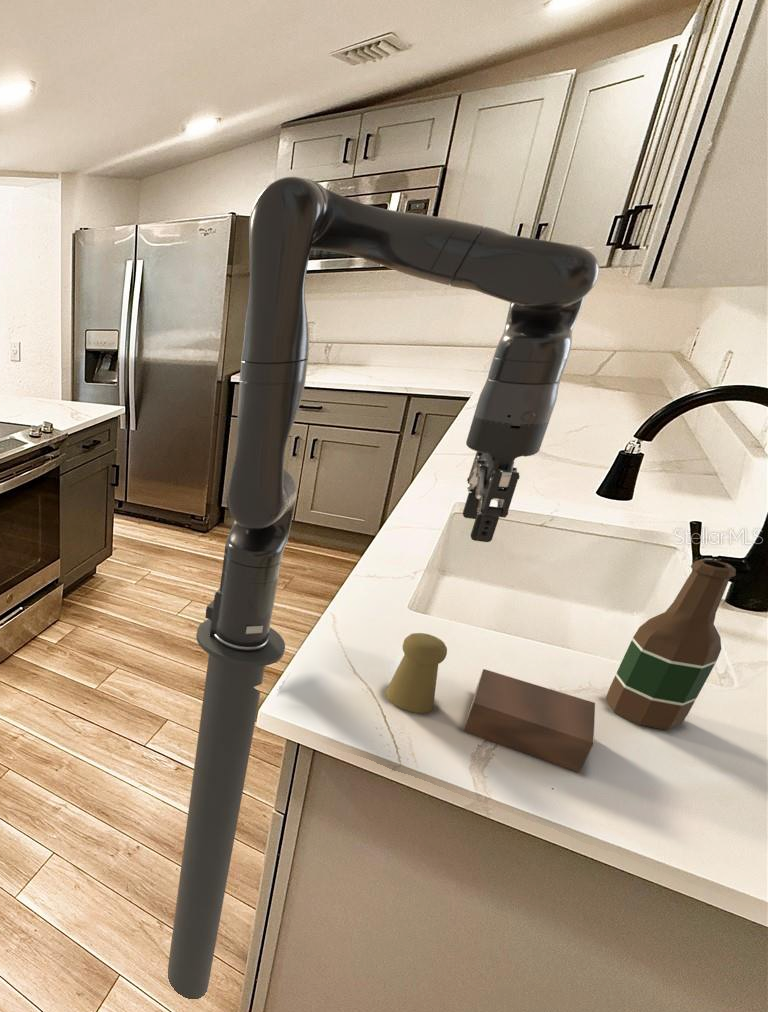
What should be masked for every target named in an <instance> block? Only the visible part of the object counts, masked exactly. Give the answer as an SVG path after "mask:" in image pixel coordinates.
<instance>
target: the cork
mask: <svg viewBox="0 0 768 1012" xmlns="http://www.w3.org/2000/svg"><path fill="white" fill-rule="evenodd" d="M402 651H403V653H404V655H403V656H402V658H401V660H400V663H399V665H398V666H397V669H396V671H395V672H394V675H393V676H392V678H391V681H390V682H389V684H388V686H387V689H386V690H385V693H384V694H385V697H386V699H387V700H388V701H389V702H390V703H391V704H393V705H394V706H395V707H398V708H399V709H401V710H405V711H407V712H409V713H410V712H411V713H416V714H426V713H429V712H431V711H432V710H433V709H434V706H435V705H434V704H435V697H436V687H437V680H438V672H439V665H440V664H441V663H442V662H444V661H445V659H446V657H447V655H448V653H447V652H448V648H447V645H446V643H445V642H444V641H443V640H442V639H440V638H438V637H437V636H435V635H432V634H428V633H423V632H415V633H411V634H409V635H408V636H406V637H405V638H404V639H403V643H402Z"/></svg>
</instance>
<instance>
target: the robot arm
mask: <svg viewBox="0 0 768 1012" xmlns="http://www.w3.org/2000/svg"><path fill="white" fill-rule="evenodd" d="M248 233H249V234H248V242H249V243H248V246H249V291H248V293H249V294H248V301H247V302H248V303H247V308H246V316H245V323H244V324H245V325H244V334H243V344H242V351H241V359H240V371H239V388H238V404H237V405H238V406H237V418H236V419H237V420H236V421H237V422H236V444H235V451H234V458H233V463H232V468H231V473H230V478H229V483H228V487H227V492H226V507H227V510H228V513H229V515H230V517H231V518H232V519H233V522H232V525H231V527H230V528H231V529H230V531H229V533H228V535H227V538H226V540H225V545H224V546H225V547H224V553H223V560H222V569H221V576H220V584H219V589H217V590H216V591H215V592H214V598H213V599H212V601H211V602H210V603H208V604H207V605H206V609H205V617H204V618H205V619H206V620H208V619H210V620H211V628H210V635H209V636H210V637H212V638H215V640H216V641H217V642H218V643H220V644H221V645H223V646H225V647H227V648H229V649H232V650H236V651H241V652H256V651H260V650H262V649H264V648H265V647H266V646H267V643H268V636H269V629H270V628H271V622H272V616H273V611H274V606H275V600H276V595H277V588H278V582H279V576H280V570H281V565H282V560H283V555H284V551H285V548H286V546H287V543H288V540H289V536H290V531H291V526H292V521H293V516H294V512H295V507H296V501H297V485H296V482H295V479H294V478H293V476H292V475H291V473H290V472H289V471H287V470H286V469H285V467H284V466H285V456H286V448H287V444H288V439H289V437H290V434H291V431H292V428H293V426H294V423H295V421H296V417H297V414H298V412H299V408H300V405H301V402H302V398H303V394H304V390H305V385H306V380H307V379H306V378H307V371H308V362H309V355H310V333H309V332H310V330H309V321H308V312H307V304H306V291H305V290H306V277H307V271H308V266H309V261H310V254H311V251H322V252H323V251H324V252H330V253H331V252H332V253H336V254H337V253H338V254H344V255H348V256H352V257H356V258H360V259H363V260H366V261H369V262H371V263H375V264H377V265H380V266H383V267H385V268H388V269H390V270H393V271H396V272H399V273H402V274H404V275H408V276H411V277H415V278H418V279H422V280H425V281H426V280H427V281H430V282H434V283H438V284H441V285H446V286H450V287H453V288H459V289H464V290H472V291H476V292H479V293H482V294H484V295H487V296H490V297H493V298H496V299H499V300H502V301H504V302H508V303H509V307H508V311H507V316H506V321H505V326H504V330H503V332H502V335H501V337H500V339H499V341H498V344H497V345H496V348H495V351H494V355H493V357H492V360H491V363H490V367H489V371H488V375H487V378H486V381H485V383H484V385H483V387H482V389H481V392H480V394H479V397H478V400H477V403H476V407H475V411H474V414H473V418H472V421H471V423H470V428H469V431H468V435H467V438H466V441H465V443H466V444H465V445H466V446H467V447H468V448H469V449H471V450H472V451H475V456H474V460H473V463H472V465H471V468H470V472H469V475H468V477H467V478H466V482H467V484H468V485H467V492H468V494H467V498H466V500H465V504H464V508H463V511H462V517H463V518H465V519H469V520H470V519H471V520H474V523H473V526H472V529H471V532H470V539H471V540H472V541H473V542H474V541H475V542H482V543H490V542H492V540H493V538H494V535H495V531H496V528H497V526H498V524H499V523H498V522H499V520H500V518H503V519H504V518H505V519H506V518H507V516H508V515H509V510H510V506H511V503H512V499H513V497H514V493H515V490H516V487H517V484H518V481H519V480H520V476H521V475H520V472H518V467H514V465H515V460H516V459H517V458H521V457H524V458H525V457H531V456H534V455H536V454H538V453H539V452H540V449H541V447H542V445H543V441H544V438H545V435H546V432H547V429H548V426H549V424H550V421H551V418H552V415H553V412H554V409H555V406H556V402H557V400H558V393H559V387H560V383H561V380H562V377H563V375H564V371H565V368H566V366H567V362H568V359H569V356H570V352H571V349H572V342H573V330H574V328H575V325H576V323H577V320H578V317H579V314H580V311H581V309H582V306H583V303H584V300H585V298H586V296H587V295H588V294H589V293H590V292H591V291H592V289H593V288H594V287H595V285H596V283H597V281H598V279H599V275H600V264H599V260H598V259H597V256H595V254H594V253H593V252H592V251H590V250H589V249H587V248H586V247H584V246H583V247H582V246H580V245H575V244H570V243H562V242H556V241H550V240H545V239H538V238H532V237H525V236H519V235H513V234H509V233H507V232H505V231H503V230H499V229H497V228H493V227H490V226H484V225H482V224H481V225H480V224H476V223H471V222H467V221H460V220H456V219H452V218H446V217H441V216H434V215H427V214H421V213H414V212H413V213H412V212H405V211H400V210H399V211H398V210H393V209H388V208H387V209H386V208H382V207H378V206H373V205H370V204H366V203H363V202H359V201H357V200H354V199H352V198H349V197H346V196H344V195H342V194H339V193H337V192H335V191H332V190H330V189H328V188H325V187H324V186H323V185H322V184H320V183H319V182H317V181H315V180H313V179H308V178H305V177H298V176H286V177H282V178H279V179H277V180H274V181H273V182H271V183H270V184H269V185H267V186H266V187H265V188H264V189H263V190H262V192H260V194H259V195H258V197H257V198H256V200H255V202H254V203H253V206H252V208H251V212H250V215H249V221H248ZM492 501H496V502H497V506H491V503H492Z"/></svg>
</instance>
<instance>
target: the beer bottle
mask: <svg viewBox="0 0 768 1012" xmlns="http://www.w3.org/2000/svg"><path fill="white" fill-rule="evenodd" d="M690 568H691V569H692V570H691V572H690V574H689V575H688V576H687V578H686V580H685V582H684V584H683V585H682V587H681V589H680V590H679V592H678V593H677V595H676V597H675V598H674V600H673V601H672V603H671V604H670V605H669V607H668V608H667V609H666V610H665V611H664V612H662V613H660V614H657V615H655V616H653V617H651V618H649V619H648V620H646V621H645V622H644V623H643V624H642V625H640V626H639V627H638V629H637V630H636V631H635V633H634V635H633V637H632V638H631V640H630V643H629V645H628V647H627V649H626V652H625V653H624V655H623V658H622V660H621V662H620V665H619V667H618V669H617V671H616V673H615V675H614V677H613V679H612V681H611V684H610V686H609V688H608V691H607V694H606V697H605V700H606V702H607V704H608V706H609V707H610V708H611V710H612V711H613V713H614V714H616V715H618V716H621V717H622V718H624V719H627V720H628V721H631V722H632V723H635V724H636V725H639V726H643V727H649V728H652V729H653V728H654V729H658V730H663V731H667V730H670V729H672V728H674V727H677V726H679V725H681V724H683V722H684V721H685V720H686V718H687V716H688V714H689V713H690V711H691V709H692V707H693V706H694V704H695V702H696V700H697V698H698V696H699V695H700V694H701V690H702V689H703V687H704V686H705V683H706V682H707V680H708V678H709V677H710V674H711V672H712V670H713V669H714V667H715V666H716V663H717V661H718V659H719V657H720V653H721V651H722V640H721V635H720V634H719V632H718V629H717V627H716V625H715V620H716V615H717V612H718V609H719V608H720V607H719V606H720V604H721V602H722V598H723V596H724V594H725V591H726V589H727V586H728V584H729V581H730V579H731V578H733V577H735V576H736V574H737V573H736V572H737V570H736V567H734V566H732V565H731V564H729V563H727V562H723V561H720V560H717V559H708V558H702V559H698V560H696V561H694V562H693V563H692V564H691V565H690Z"/></svg>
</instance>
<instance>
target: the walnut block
mask: <svg viewBox="0 0 768 1012" xmlns="http://www.w3.org/2000/svg"><path fill="white" fill-rule="evenodd" d="M595 713H596V703H595V702H594V701H590V700H587V699H583V698H580V697H577V696H574V695H572V694H571V695H570V694H568V693H565V692H561V691H557V690H554V689H551V688H548V687H544V686H541V685H538V684H535V683H531V682H527V681H525V680H521V679H518V678H516V677H515V678H514V677H512V676H508V675H505V674H502V673H498V672H495V671H493V670H489V669H485V668H483V669H482V671H481V674H480V676H479V680H478V683H477V685H476V688H475V691H474V693H473V697H472V700H471V704H470V708H469V711H468V714H467V716H466V721H465V723H464V728H463V732H465V733H468V734H471V735H473V736H476V737H479V738H481V739H485V740H487V741H489V742H492V743H496V744H498V745H501V746H504V747H507V748H510V749H512V750H515V751H518V752H521V753H523V754H525V755H529V756H532V757H535V758H537V759H540V760H543V761H546V762H548V763H551V764H554V765H556V766H559V767H563V768H564V769H567V770H570V771H573V772H576V773H578V774H580V773H581V771H582V769H583V767H584V764H585V762H586V760H587V758H588V756H589V754H590V753H591V749H592V747H593V745H594V741H595V716H596V714H595Z"/></svg>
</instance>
